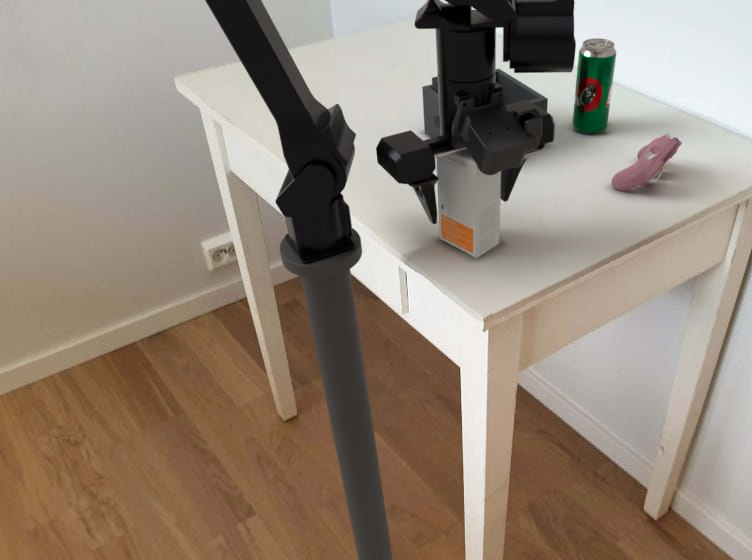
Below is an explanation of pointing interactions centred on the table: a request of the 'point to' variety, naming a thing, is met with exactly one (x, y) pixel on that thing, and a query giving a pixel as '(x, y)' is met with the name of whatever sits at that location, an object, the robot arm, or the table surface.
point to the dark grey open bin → (510, 88)
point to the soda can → (594, 85)
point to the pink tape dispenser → (647, 163)
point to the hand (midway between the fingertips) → (469, 211)
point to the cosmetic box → (467, 204)
